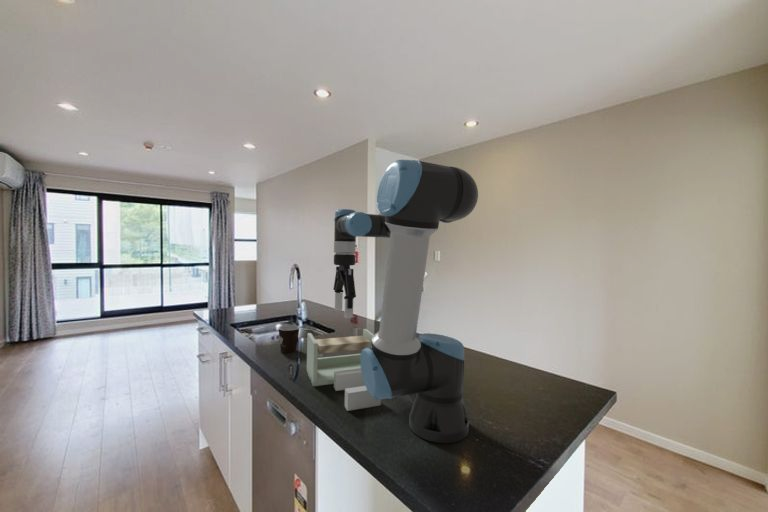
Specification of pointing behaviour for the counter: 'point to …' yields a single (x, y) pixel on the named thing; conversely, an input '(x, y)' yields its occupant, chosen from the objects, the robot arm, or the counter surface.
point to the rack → (354, 389)
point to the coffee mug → (288, 338)
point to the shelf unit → (329, 362)
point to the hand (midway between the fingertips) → (343, 314)
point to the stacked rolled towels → (342, 344)
